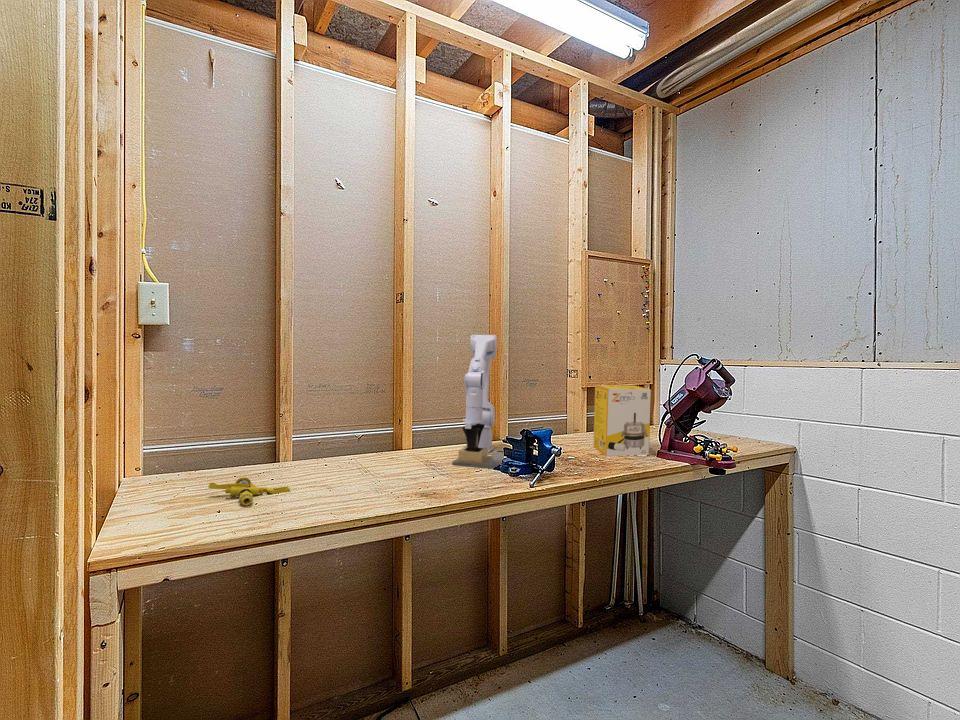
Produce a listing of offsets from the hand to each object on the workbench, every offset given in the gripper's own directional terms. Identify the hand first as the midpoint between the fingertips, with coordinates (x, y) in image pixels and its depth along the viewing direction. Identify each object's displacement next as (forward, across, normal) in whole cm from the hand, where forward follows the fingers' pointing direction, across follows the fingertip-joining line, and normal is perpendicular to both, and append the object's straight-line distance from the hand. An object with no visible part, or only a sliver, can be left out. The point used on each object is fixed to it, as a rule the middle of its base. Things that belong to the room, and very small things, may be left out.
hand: (473, 446), depth 171 cm
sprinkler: (+6, +56, -43) cm, 71 cm away
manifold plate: (+5, 0, +4) cm, 6 cm away
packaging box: (+6, -37, +48) cm, 61 cm away
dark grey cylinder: (+3, 0, 0) cm, 3 cm away
